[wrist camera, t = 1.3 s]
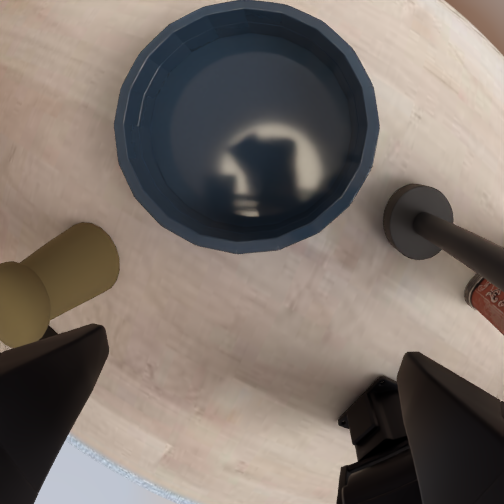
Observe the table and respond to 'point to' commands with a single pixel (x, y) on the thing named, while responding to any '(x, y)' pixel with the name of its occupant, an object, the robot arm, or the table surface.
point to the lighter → (486, 300)
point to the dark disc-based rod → (438, 232)
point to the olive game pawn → (54, 281)
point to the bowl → (246, 126)
